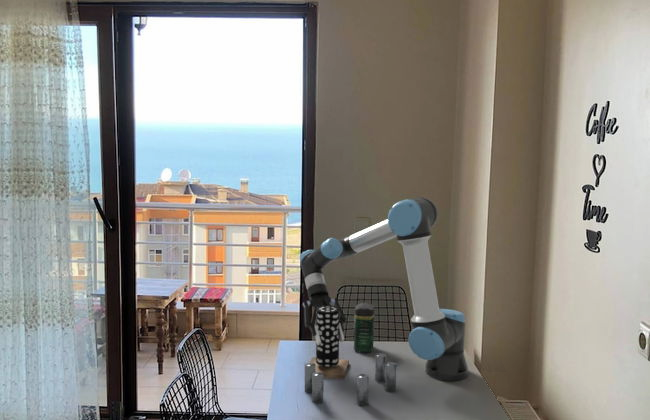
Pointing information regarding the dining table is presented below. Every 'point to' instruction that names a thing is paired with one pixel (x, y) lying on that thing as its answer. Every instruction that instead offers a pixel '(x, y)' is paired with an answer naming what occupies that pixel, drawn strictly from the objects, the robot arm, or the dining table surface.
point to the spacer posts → (316, 380)
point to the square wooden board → (332, 369)
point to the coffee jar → (364, 328)
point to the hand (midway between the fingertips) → (330, 342)
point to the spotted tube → (327, 335)
